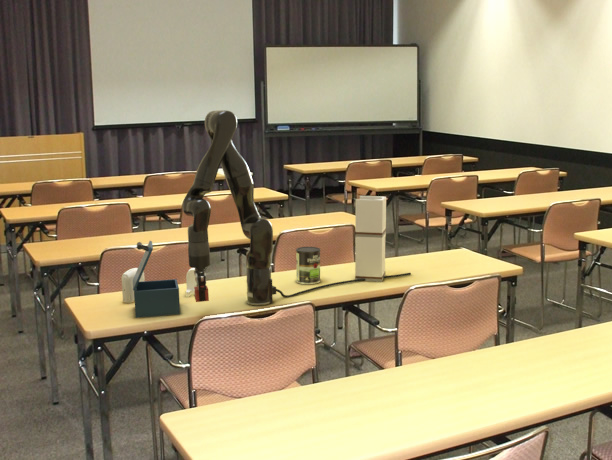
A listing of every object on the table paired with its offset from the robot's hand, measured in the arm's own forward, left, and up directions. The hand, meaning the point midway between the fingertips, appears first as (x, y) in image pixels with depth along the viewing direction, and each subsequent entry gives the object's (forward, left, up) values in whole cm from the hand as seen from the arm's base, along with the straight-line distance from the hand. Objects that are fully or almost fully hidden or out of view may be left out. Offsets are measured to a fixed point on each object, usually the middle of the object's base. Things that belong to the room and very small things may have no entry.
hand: (201, 298), depth 273 cm
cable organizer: (0, -30, -6) cm, 31 cm away
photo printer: (+23, -27, -6) cm, 36 cm away
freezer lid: (+20, -10, +11) cm, 25 cm away
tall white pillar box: (-75, -33, -6) cm, 82 cm away
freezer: (+15, -10, -6) cm, 19 cm away
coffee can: (-48, -35, -6) cm, 59 cm away
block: (0, 0, 0) cm, 0 cm away
